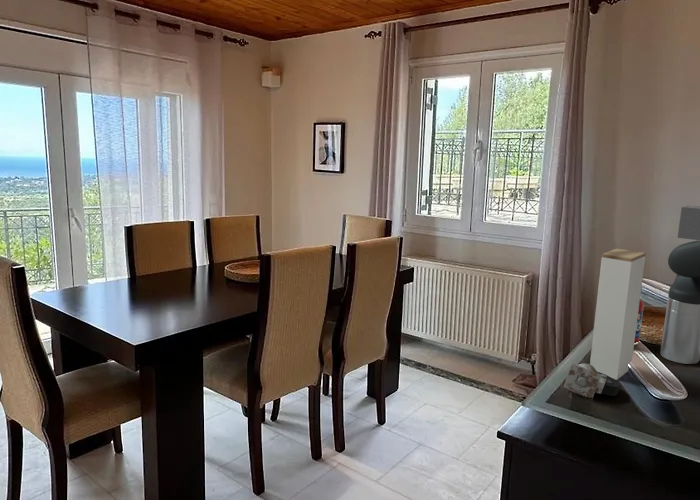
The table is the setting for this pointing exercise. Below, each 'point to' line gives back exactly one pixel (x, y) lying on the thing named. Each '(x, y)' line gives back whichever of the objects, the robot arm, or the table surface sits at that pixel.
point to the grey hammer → (689, 223)
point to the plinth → (617, 311)
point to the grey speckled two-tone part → (590, 381)
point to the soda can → (639, 320)
